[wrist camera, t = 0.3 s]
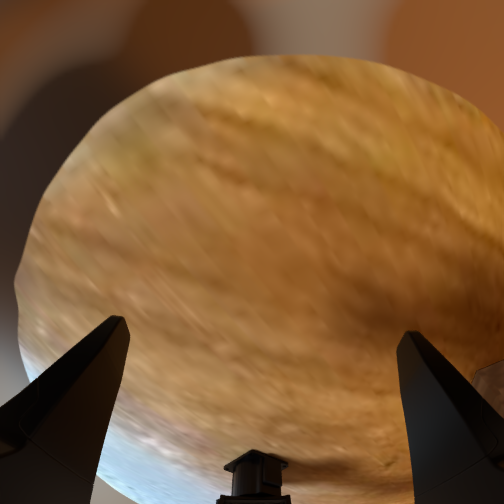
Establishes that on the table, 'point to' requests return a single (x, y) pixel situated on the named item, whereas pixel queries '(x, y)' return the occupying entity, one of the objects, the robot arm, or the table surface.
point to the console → (491, 385)
